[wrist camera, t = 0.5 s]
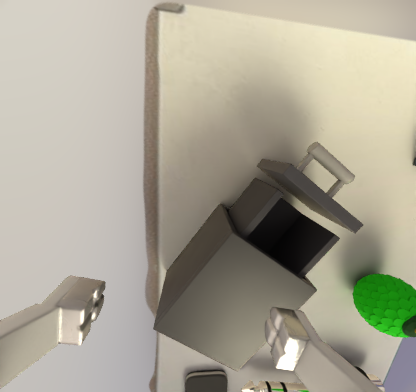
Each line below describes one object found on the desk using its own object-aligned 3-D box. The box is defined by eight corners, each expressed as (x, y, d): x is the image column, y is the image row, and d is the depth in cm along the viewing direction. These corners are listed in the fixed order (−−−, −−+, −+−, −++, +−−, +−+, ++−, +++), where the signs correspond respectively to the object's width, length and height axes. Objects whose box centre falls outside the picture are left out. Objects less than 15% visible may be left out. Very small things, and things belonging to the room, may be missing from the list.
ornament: (340, 267, 31) (405, 321, 21) (388, 258, 31) (475, 308, 22) (339, 307, 33) (398, 373, 23) (384, 299, 33) (462, 361, 24)
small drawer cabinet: (220, 202, 27) (232, 231, 18) (279, 245, 29) (317, 290, 20) (166, 271, 29) (152, 329, 20) (225, 306, 32) (237, 372, 22)
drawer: (283, 131, 24) (323, 125, 17) (338, 179, 26) (395, 192, 19) (205, 230, 27) (209, 262, 20) (260, 267, 29) (282, 308, 22)
